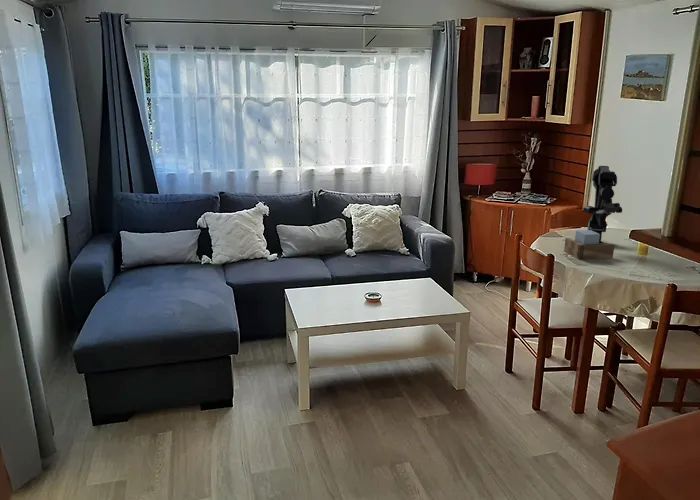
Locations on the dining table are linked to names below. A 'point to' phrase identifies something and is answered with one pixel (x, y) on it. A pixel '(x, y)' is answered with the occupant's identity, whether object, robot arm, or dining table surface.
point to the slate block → (587, 237)
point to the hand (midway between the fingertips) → (600, 225)
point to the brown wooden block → (588, 250)
